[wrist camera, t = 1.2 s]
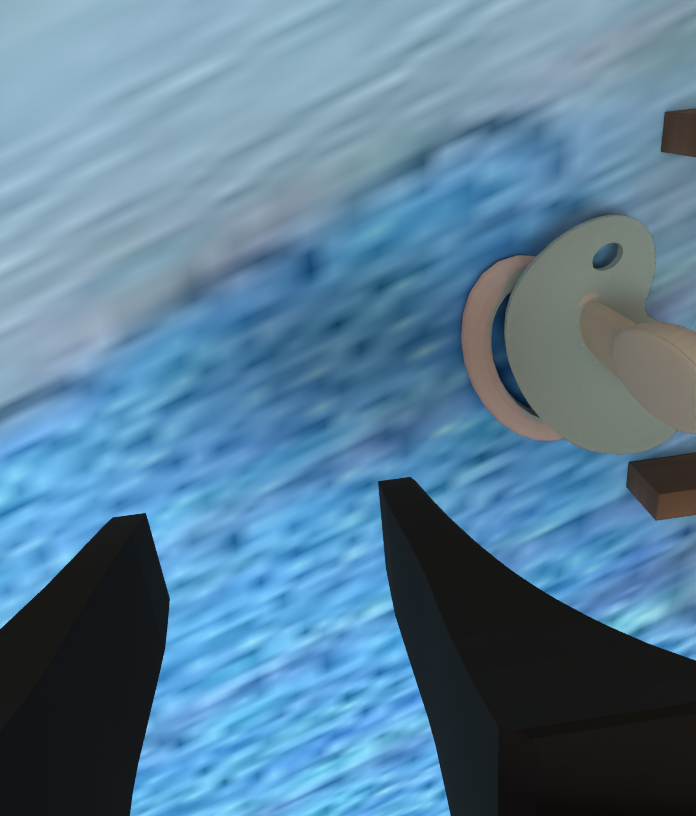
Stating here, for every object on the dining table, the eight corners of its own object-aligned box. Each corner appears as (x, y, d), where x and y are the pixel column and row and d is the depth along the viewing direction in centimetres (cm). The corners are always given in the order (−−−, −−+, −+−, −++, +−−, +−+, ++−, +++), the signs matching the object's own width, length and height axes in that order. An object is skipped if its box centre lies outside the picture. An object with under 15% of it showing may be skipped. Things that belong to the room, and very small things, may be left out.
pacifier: (508, 463, 23) (677, 385, 22) (578, 589, 17) (810, 491, 16) (420, 277, 20) (613, 177, 19) (470, 356, 14) (749, 219, 13)
